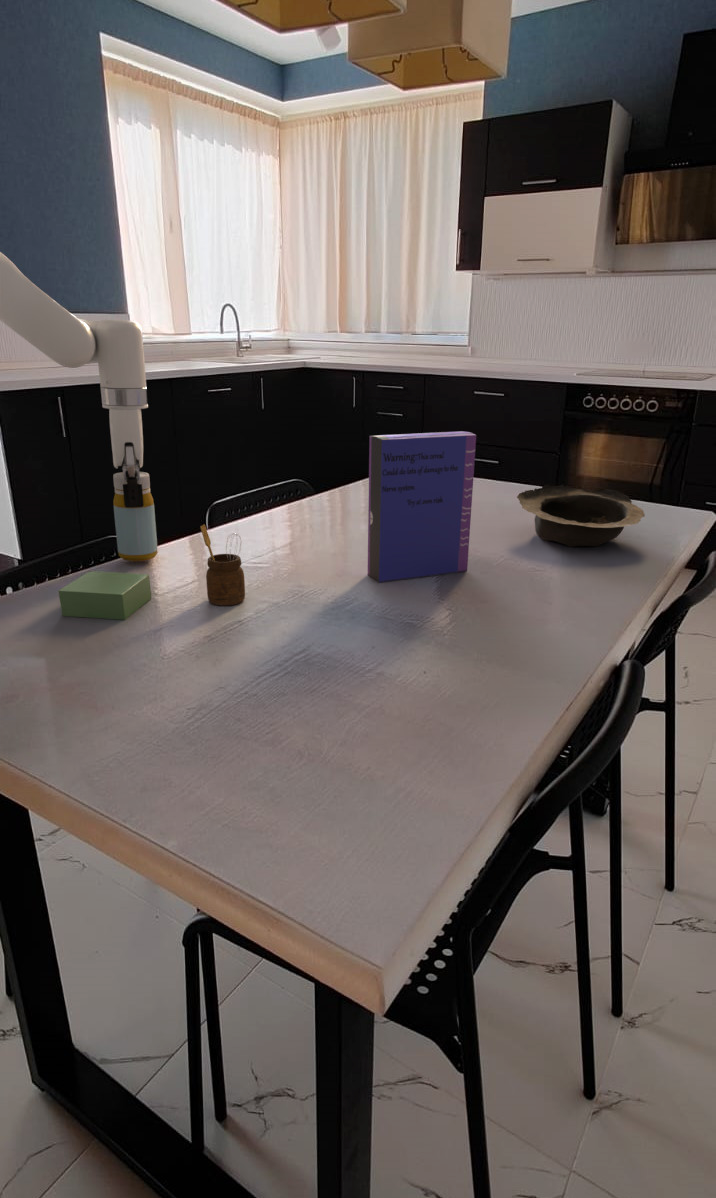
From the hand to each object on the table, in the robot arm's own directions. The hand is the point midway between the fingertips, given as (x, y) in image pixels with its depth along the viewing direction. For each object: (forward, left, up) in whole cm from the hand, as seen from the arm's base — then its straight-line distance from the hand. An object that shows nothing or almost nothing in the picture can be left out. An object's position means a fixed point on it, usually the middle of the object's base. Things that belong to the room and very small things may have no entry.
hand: (133, 501), depth 138 cm
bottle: (0, 0, -10) cm, 10 cm away
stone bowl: (+82, +31, -11) cm, 89 cm away
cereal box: (+51, +1, -11) cm, 53 cm away
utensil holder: (+22, -19, -11) cm, 31 cm away
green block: (+5, -25, -11) cm, 28 cm away
